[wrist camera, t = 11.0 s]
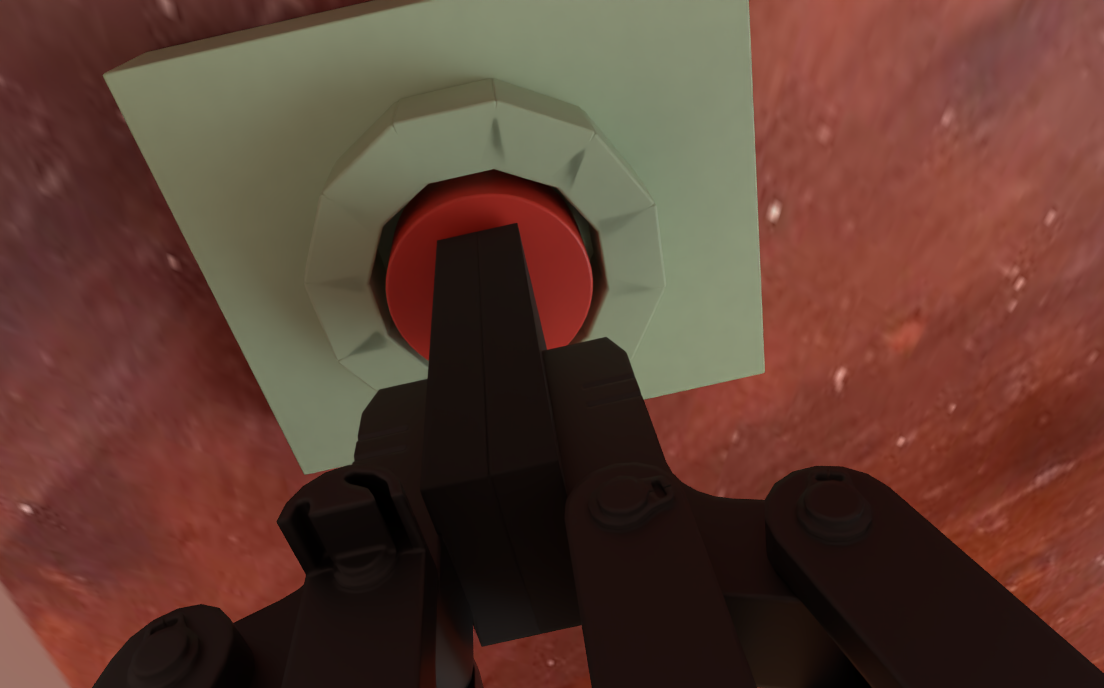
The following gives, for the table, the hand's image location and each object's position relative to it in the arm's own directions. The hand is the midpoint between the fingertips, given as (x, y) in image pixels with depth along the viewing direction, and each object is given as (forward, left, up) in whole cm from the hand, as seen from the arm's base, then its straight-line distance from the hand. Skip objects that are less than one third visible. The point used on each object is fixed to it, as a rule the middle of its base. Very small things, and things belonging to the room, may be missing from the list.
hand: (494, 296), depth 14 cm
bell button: (0, 0, -2) cm, 2 cm away
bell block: (0, 0, -5) cm, 5 cm away
